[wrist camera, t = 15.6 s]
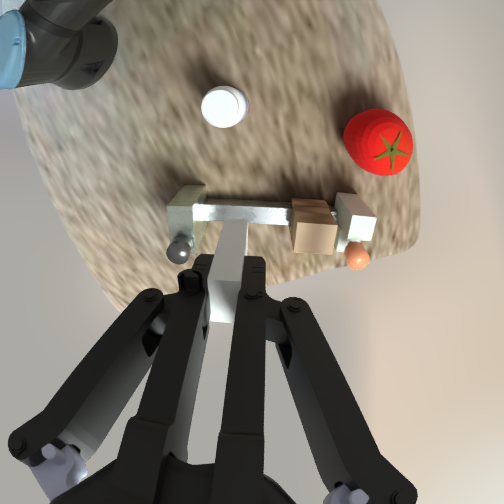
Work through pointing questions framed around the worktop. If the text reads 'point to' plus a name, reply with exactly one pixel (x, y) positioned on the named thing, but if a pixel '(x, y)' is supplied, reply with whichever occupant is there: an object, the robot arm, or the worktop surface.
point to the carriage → (312, 227)
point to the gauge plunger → (356, 255)
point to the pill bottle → (224, 106)
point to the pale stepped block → (352, 220)
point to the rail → (215, 217)
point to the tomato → (378, 142)
